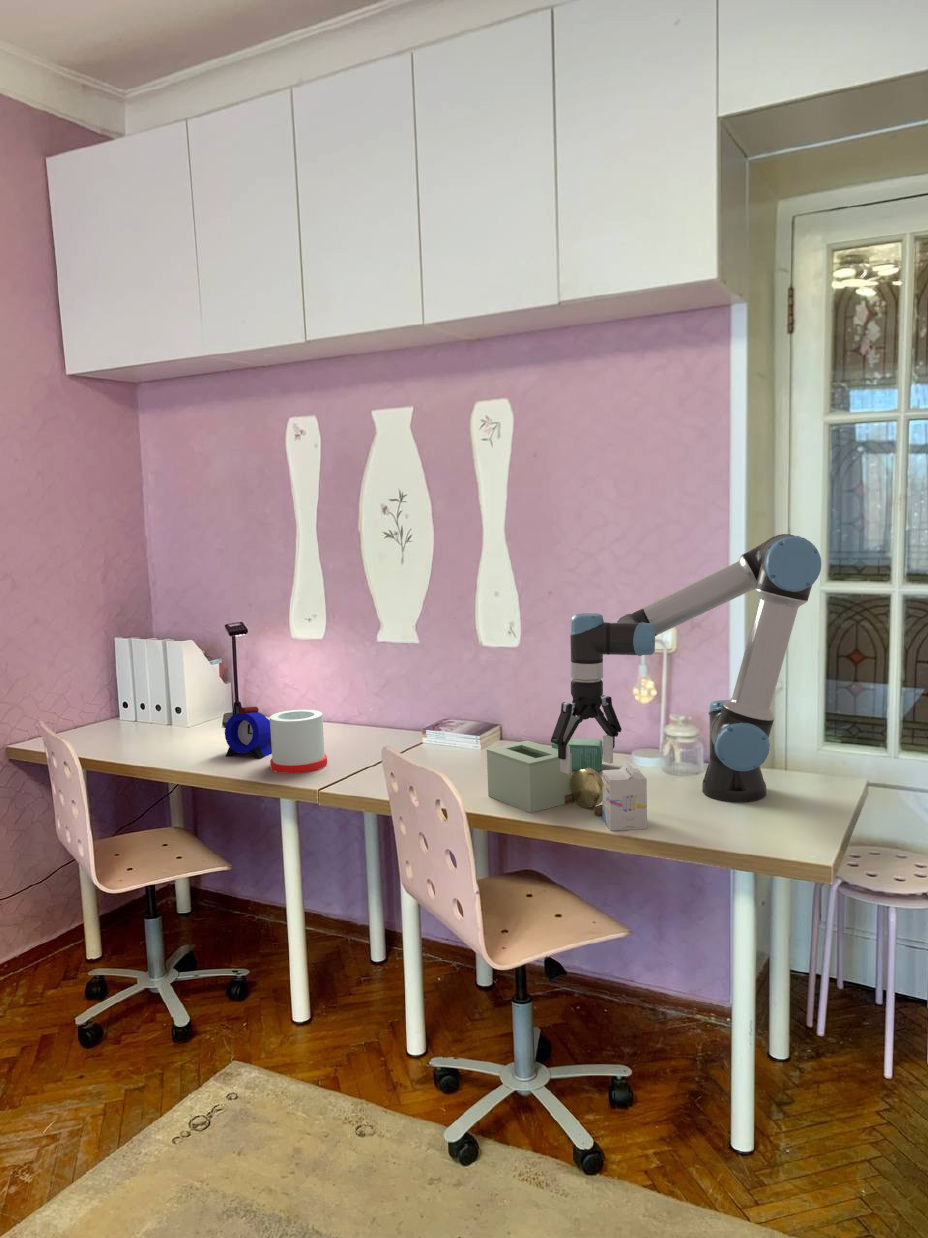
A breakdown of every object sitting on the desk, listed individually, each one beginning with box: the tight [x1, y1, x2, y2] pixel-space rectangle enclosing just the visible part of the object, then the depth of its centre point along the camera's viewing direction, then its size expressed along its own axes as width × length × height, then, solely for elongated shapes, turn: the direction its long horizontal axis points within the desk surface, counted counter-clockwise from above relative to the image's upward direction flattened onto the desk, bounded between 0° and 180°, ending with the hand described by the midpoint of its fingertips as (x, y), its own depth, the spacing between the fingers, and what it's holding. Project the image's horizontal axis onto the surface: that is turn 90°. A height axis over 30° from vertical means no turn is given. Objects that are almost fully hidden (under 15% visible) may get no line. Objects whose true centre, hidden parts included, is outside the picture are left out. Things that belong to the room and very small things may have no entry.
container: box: [269, 709, 328, 774], centre depth 271 cm, size 16×16×15 cm
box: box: [551, 738, 603, 772], centre depth 260 cm, size 7×14×8 cm, turn 78°
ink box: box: [602, 761, 648, 832], centre depth 214 cm, size 9×8×13 cm
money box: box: [486, 740, 573, 814], centre depth 234 cm, size 17×13×12 cm
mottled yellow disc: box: [570, 768, 603, 809], centre depth 227 cm, size 3×9×9 cm, turn 35°
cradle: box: [564, 794, 603, 818], centre depth 227 cm, size 14×6×2 cm, turn 35°
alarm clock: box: [224, 706, 272, 760], centre depth 286 cm, size 12×12×15 cm
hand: (586, 767), depth 226 cm, fingers open, 13 cm apart
